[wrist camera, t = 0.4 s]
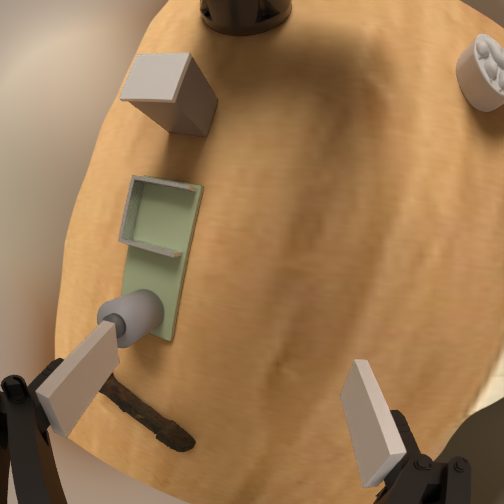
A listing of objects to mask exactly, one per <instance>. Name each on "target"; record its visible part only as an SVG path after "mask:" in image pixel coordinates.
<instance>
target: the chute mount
mask: <svg viewBox="0 0 504 504" xmlns="http://www.w3.org/2000/svg"><path fill="white" fill-rule="evenodd" d="M145 183H150V184H155V185H160V186H166V187H171V188H176V189H181V190H186V191H191V192H197V188H194V187H192V186H190V185H185V184H180V183H175V182H169V181H164V180H158V179H152V178H147V177H141V176H135V175H132V178H131V182H130V187H129V191H128V195H127V200H126V204H125V209H124V213H123V218H122V223H121V229H120V234H119V240H118V242H121V243H125V244H128V245H132V246H135V247H139V248H142V249H146V250H149V251H153V252H156V253H160V254H163V255H167V256H170V257H178V256H182V254H183V252H181V251H178V250H174V249H170V248H167V247H163V246H159V245H156V244H152V243H148V242H145V241H141V240H137V239H134V238H133V235H134V230H135V225H136V220H137V215H138V210H139V206H140V201H141V197H142V193H143V188H144V184H145Z"/></svg>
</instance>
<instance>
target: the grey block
mask: <svg viewBox="0 0 504 504" xmlns="http://www.w3.org/2000/svg"><path fill="white" fill-rule="evenodd" d="M119 99H120V100H121V101H128V102H130V103H131V104H132V105H134V106H135V107H136V108H138V109H139V110H140V111H142V112H143V113H144V114H146V115H147V116H148V117H150V118H151V119H152V120H154V121H155V122H156V123H157V124H159V125H160V126H161V127H163V128H164V129H165V130H167V131H168V132H169V133H178V134H186V135H194V136H202V137H207V136H208V132H209V129H210V125H211V122H212V118H213V115H214V112H215V108H216V105H217V102H218V99H217V97H216V95H215V94H214V92H213V90H212V89H211V87H210V85H209V84H208V82H207V80H206V79H205V77H204V75H203V74H202V72H201V70H200V69H199V67H198V65H197V64H196V62H195V61H194V59H193V57H192V56H191V54H190V53H156V54H140V55H137V56H136V59H135V61H134V63H133V65H132V68H131V70H130V72H129V75H128V77H127V79H126V82H125V84H124V87H123V90H122V92H121V95H120V97H119Z"/></svg>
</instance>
